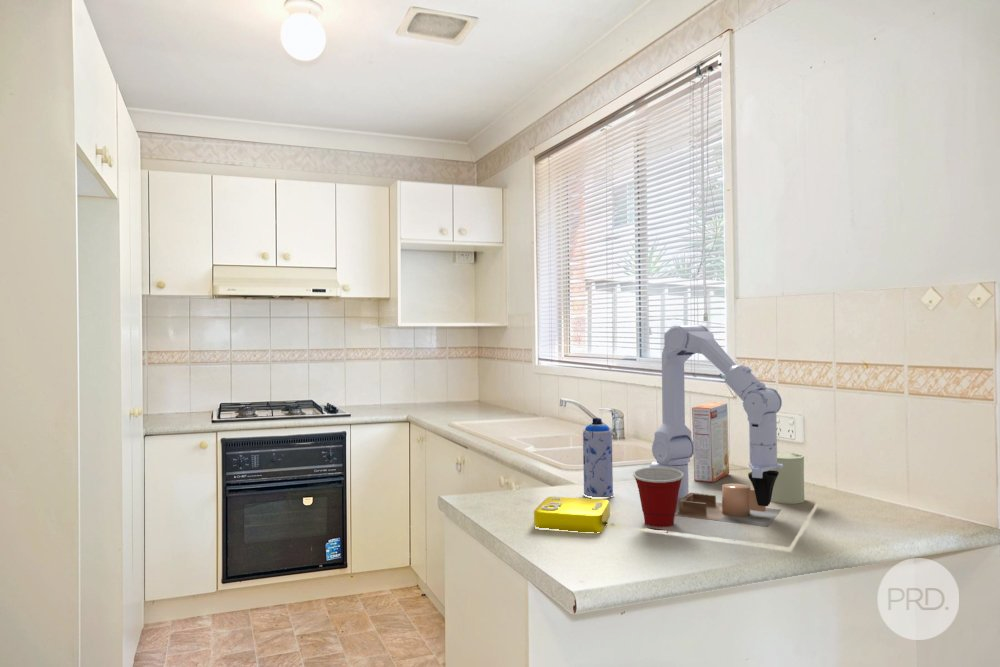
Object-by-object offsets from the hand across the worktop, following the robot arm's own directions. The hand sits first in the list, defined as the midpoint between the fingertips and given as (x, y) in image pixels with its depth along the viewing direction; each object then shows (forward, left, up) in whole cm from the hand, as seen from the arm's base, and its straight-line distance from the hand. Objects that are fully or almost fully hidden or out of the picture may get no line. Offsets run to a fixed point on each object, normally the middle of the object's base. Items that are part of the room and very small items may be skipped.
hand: (764, 504), depth 157 cm
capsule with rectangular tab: (-4, 0, -3) cm, 5 cm away
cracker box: (-22, +40, -4) cm, 46 cm away
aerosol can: (-42, +5, -4) cm, 42 cm away
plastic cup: (-19, -16, -4) cm, 25 cm away
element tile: (-37, -21, -4) cm, 43 cm away
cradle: (-8, 0, -3) cm, 8 cm away
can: (+1, +19, -4) cm, 19 cm away
